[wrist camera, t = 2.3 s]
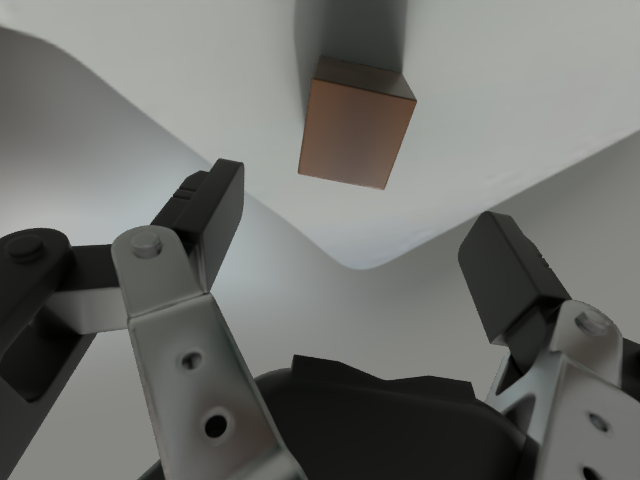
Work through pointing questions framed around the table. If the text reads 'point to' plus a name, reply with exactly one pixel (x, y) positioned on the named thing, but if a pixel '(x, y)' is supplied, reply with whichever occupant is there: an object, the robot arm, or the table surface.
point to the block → (354, 123)
